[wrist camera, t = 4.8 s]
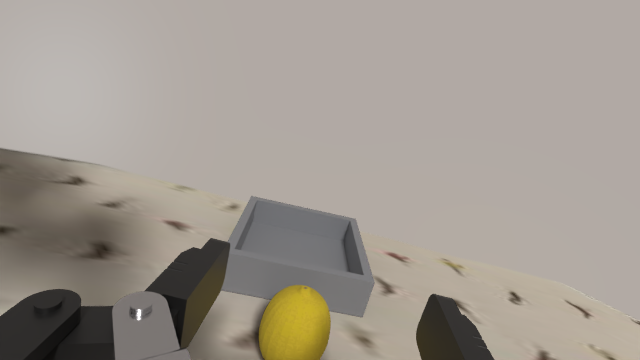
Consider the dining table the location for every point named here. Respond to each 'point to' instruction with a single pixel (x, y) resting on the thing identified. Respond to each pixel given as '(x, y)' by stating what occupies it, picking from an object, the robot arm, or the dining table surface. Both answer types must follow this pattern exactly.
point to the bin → (299, 255)
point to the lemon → (295, 325)
